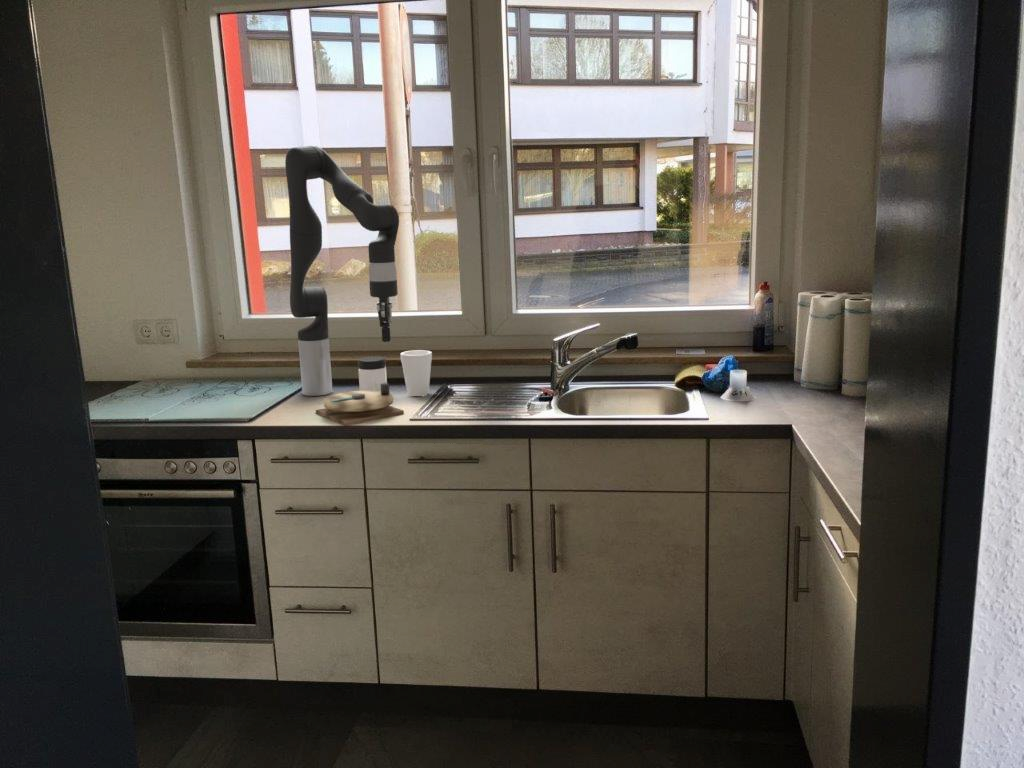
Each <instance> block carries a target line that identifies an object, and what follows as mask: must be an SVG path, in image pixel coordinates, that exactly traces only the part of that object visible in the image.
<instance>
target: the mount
mask: <svg viewBox="0 0 1024 768" xmlns="http://www.w3.org/2000/svg"><path fill="white" fill-rule="evenodd" d="M404 411H405V410H403V409H400V408H398V407H395V406H392V405H389V406H386V407H383V408H379V409H374V410H368V411H356V412H343V411H334V410H329V409H327V408H325V407H324V408H319V409H315V414H317V415H319V416H321V417H323V418H326V419H329V420H331V421H333V422H336V423H339V424H341V425H343V426H350V425H355V423H356V424H360V423H365V421H366V422H370V420H371V421H376V420H380V419H385V418H390V417H395V416H400V415H403V414H405V412H404ZM375 419H376V420H375Z"/></svg>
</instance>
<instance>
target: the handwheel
mask: <svg viewBox="0 0 1024 768" xmlns="http://www.w3.org/2000/svg"><path fill="white" fill-rule="evenodd" d="M380 385H381V391H360V390H353V391H345V392H339V393H335V394H332V395H328V396H327V397H325V398H324V399H323V407H324V408H327V409H329V410H334V411H343V412H356V411H368V410H374V409H379V408H383V407H386V406H392V404H393V403H394V397H393V396H394V395H393V394H391V393H390V383H388V382H387V383H382V384H380Z"/></svg>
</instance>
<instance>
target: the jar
mask: <svg viewBox="0 0 1024 768" xmlns="http://www.w3.org/2000/svg"><path fill="white" fill-rule="evenodd" d="M357 364H358V383H359V384H358V385H359V391H381V385H380V384H382V383H388V380H387V379H388V378H387V376H388V375H387V366H386V365H387V361H386V357H384V356H365V357H361V358H359V359H357Z"/></svg>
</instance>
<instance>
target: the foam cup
mask: <svg viewBox="0 0 1024 768" xmlns="http://www.w3.org/2000/svg"><path fill="white" fill-rule="evenodd" d="M432 360H433V352H432V351H430V350H423V349H415V350H406V351H403V352H400V362H401V366H402V370H403V377H404V382H405V387H406V388H405V389H406V393H407V396H408V395H409V396H408V397H411V396H422V397H424V396H423V395H426V394H428V395H429V392H430V381H431V369H432V368H431V367H432ZM426 396H427V395H426Z"/></svg>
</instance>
